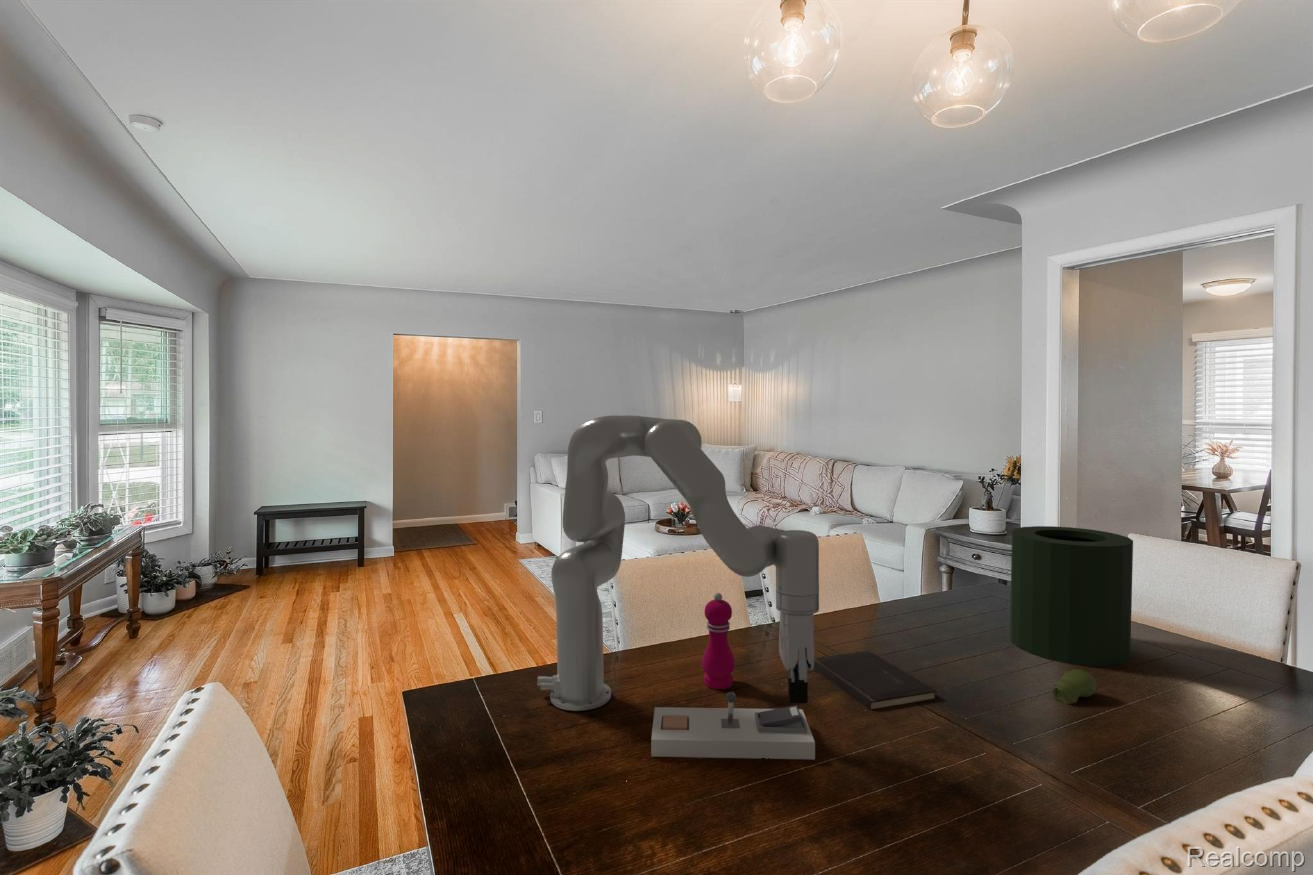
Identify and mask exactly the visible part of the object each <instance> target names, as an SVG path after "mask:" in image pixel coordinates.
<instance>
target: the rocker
mask: <svg viewBox="0 0 1313 875" xmlns="http://www.w3.org/2000/svg"><path fill="white" fill-rule="evenodd" d="M772 709H773V710H768V711H763V712H759V713H760V717H761V722H762V726H763V727H778V726H784V725H789V724H794V723H799V722H802V718H801V715H800V712H799V709H800V708H799V707H798V705H797V704H796V705H790V706H785V707H778V708H772Z"/></svg>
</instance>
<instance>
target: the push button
mask: <svg viewBox="0 0 1313 875" xmlns="http://www.w3.org/2000/svg"><path fill="white" fill-rule="evenodd" d="M663 730H687V716H685V715H663Z"/></svg>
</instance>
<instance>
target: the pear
mask: <svg viewBox="0 0 1313 875" xmlns="http://www.w3.org/2000/svg"><path fill="white" fill-rule="evenodd" d="M1097 686H1098V685H1097V681H1096V679H1095V677H1094V676H1093V675H1092V674H1091V673H1089V672H1088V671H1086V670H1083V669H1077V668H1075V669H1072V670H1069V671H1066V672H1064V674H1063V675H1062V676H1061V677H1060V679H1059V680H1058V681H1056V682H1055V683H1054V687H1053V688H1052V690H1051V693H1052V695H1053V696H1052V697H1053V698H1054V699H1056V700H1058V701H1059V702H1061V703H1063V704H1066V705H1072V704H1073V705H1074V704H1076V703H1077V702H1078V700H1079V698H1081V697H1082V698H1088V697H1092V696H1093V695H1094V694H1095V692H1096V691H1097Z"/></svg>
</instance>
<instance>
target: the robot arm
mask: <svg viewBox="0 0 1313 875" xmlns="http://www.w3.org/2000/svg"><path fill="white" fill-rule="evenodd" d="M702 442H703V441H702V436H701V433H700V431H699V429H698V428H697V427H696V425H694V424H693V423H691V422H690V421H688V420H684V419H672V418H661V417H651V416H640V415H602V416H599V417H595V418H591V419H589V420H587V421H585V422H584V423H582V424H580V425H579V426H578V427H577V428H576V429H575V431H574V432H573V433H572V435H571V436H570V439H569V442H568V446H567V463H566V464H567V465H566V466H567V467H566V469H567V470H566V481H565V489H564V499H563V509H562V510H563V511H562V529H563V532H564V534H565V535H566V537H567V538H568V539H569V540H571V541H572V542H576V543H582V544H579V545H576V546H574V547H571V548H569V549H567V550H565V551H563V552H562V553H561V554H559V555H558V557H556V559H555V560H554V562H553V565H552V567H551V574H550V575H551V576H550V577H551V578H550V579H551V584H552V588H553V593H554V601H555V613H556V614H555V615H556V654H557V655H556V656H557V657H556V660H557V661H556V662H557V663H556V666H557V671H556V672H557V674H553V675H552V676H546V675H545V676H544V675H543V676H542V675H538V677H537V681H536V682H537V683H536V685H537V687H540V688H539V689H540V690H541V691H547V690H548V691H550V690H551V692H550V695H549V696H550V697H549V698H550V702H551V704H552V705H554V706H555V707H556V708H558V709H561V710H564V711H572V712H581V711H589V710H593V709H597V708H600V707H602V706H604V705H605V704H607V703H608V702H609V700H611V697H612V690H611V687H610V686H609V685H608V684H606V683H604V622H603V620H604V618H603V617H604V616H603V614H604V613H603V608H602V603H601V599H600V597H599V594H598V587H601V586H602V585H604V584H606V583H608V582H609V581H611V580H612V579H613V578H614V577H616V575H617V573H618V572H619V570H620V567H621V563H622V558H623V557H622V555H623V548H624V546H623V545H624V537H625V527H626V526H625V525H626V513H625V509H624V505H623V503H622V501H621V499H620V498H619V497H618V496H617V495H616V494H614V493H612V492H610V491H608V484H609V473H608V472H609V471H608V468H607V467H608V466H607V463H606V462H607V461H608V460H610V459H616V458H617V459H619V458H625V457H634V456H636V457H637V456H639V457H647V458H651V459H652V461H653V462H654V463H655V465H657V467H658V468H659V469H660V471H661V472H662V473H663V474H664V475H665V477H666V478H667V479H668V480H669V481H670V483H671V484H672V486H674V487H675V489H676V490H677V491H678V492H679V494H680V495H681V496H682V497H683V498H684V500H685V501H686V502H687V504H688V506H689V508H690V512H691V514H692V516H693V518H694V521H695V523H696V525H697V528H698V530H699V532H700V533H701V535H702V538H704V540H705V542H706V543H707V544H708V546H709V547H710V548H711V550H712V551H713V553H715V555H716V556H717V557H718V558H719V559H720V560H721V562H722V563H723V564H724V565H725V567H727V568H728V569H729V570H731V572H733V573H734V574H737V575H738V576H741V577H747V578H749V577H754V576H756V575H759V574H760V573H762V572H763V571H764V570H766V568H769V567H771V566H774V567H775V608H776V610H777V611H779V634H778V635H779V638H778V652H779V657H780V659H781V661H782V664H783V667H784V669H785V670H786V671H788V677H787V695H788V696H787V698H788V701H789V704H808V701H809V700H808V697H809V696H808V694H809V693H808V692H809V691H808V690H809V688H808V686H809V685H808V683H809V682H808V670H809V671H813V669H814V658H815V625H814V614H817V613H818V612H819V611H820V542H819V537H818V536H817V535H816V534H815V533H813V532H811V531H808V530H801V529H800V530H799V529H791V530H784V529H780V528H779V529H778V528H774V527H772V526H771V527H769V526H765V525H755V526H753V525H752V526H751V527H748V528H747V526H746V525H745V524H744V523H743V522H742V520H741V519H740V518H739V516H738V515H737V514H736V513H735V511H734V509H733V507H732V506H731V504H730V502H729V500H728V497H727V491H726V480H725V476H724V474H723V473H722V472H721V471H720V469H719V468H718V467H717V466H716V465H715V463H714V462H713V460H711V458H709V456H708V455H707V454H706V453H705V452H704V450H703V449H702Z"/></svg>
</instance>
